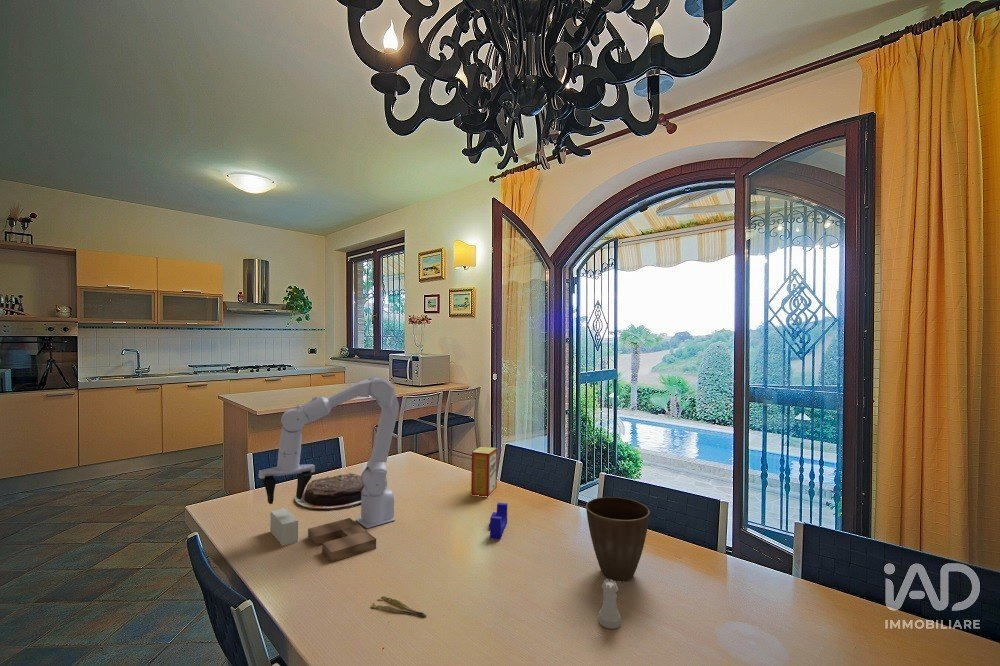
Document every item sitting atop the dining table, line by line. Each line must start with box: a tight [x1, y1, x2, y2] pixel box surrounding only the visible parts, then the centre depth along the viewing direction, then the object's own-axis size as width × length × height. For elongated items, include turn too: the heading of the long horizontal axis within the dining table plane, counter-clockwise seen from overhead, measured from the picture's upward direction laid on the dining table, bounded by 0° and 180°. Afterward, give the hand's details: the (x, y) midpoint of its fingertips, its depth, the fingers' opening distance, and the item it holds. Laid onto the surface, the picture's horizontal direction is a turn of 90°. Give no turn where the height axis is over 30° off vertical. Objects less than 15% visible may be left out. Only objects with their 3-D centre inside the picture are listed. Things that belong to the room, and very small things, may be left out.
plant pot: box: [585, 496, 651, 583], centre depth 107 cm, size 15×15×16 cm
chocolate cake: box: [294, 473, 364, 511], centre depth 158 cm, size 28×28×7 cm
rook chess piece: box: [597, 578, 622, 630], centre depth 89 cm, size 4×4×8 cm
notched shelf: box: [307, 517, 377, 563], centre depth 122 cm, size 12×18×2 cm, turn 41°
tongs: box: [370, 595, 427, 619], centre depth 93 cm, size 4×13×2 cm, turn 71°
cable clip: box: [488, 502, 508, 541], centre depth 132 cm, size 12×4×6 cm, turn 170°
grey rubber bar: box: [269, 507, 299, 547], centre depth 125 cm, size 4×12×6 cm, turn 41°
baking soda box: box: [470, 446, 498, 497], centre depth 164 cm, size 10×6×16 cm
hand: (284, 500), depth 125 cm, fingers open, 7 cm apart
